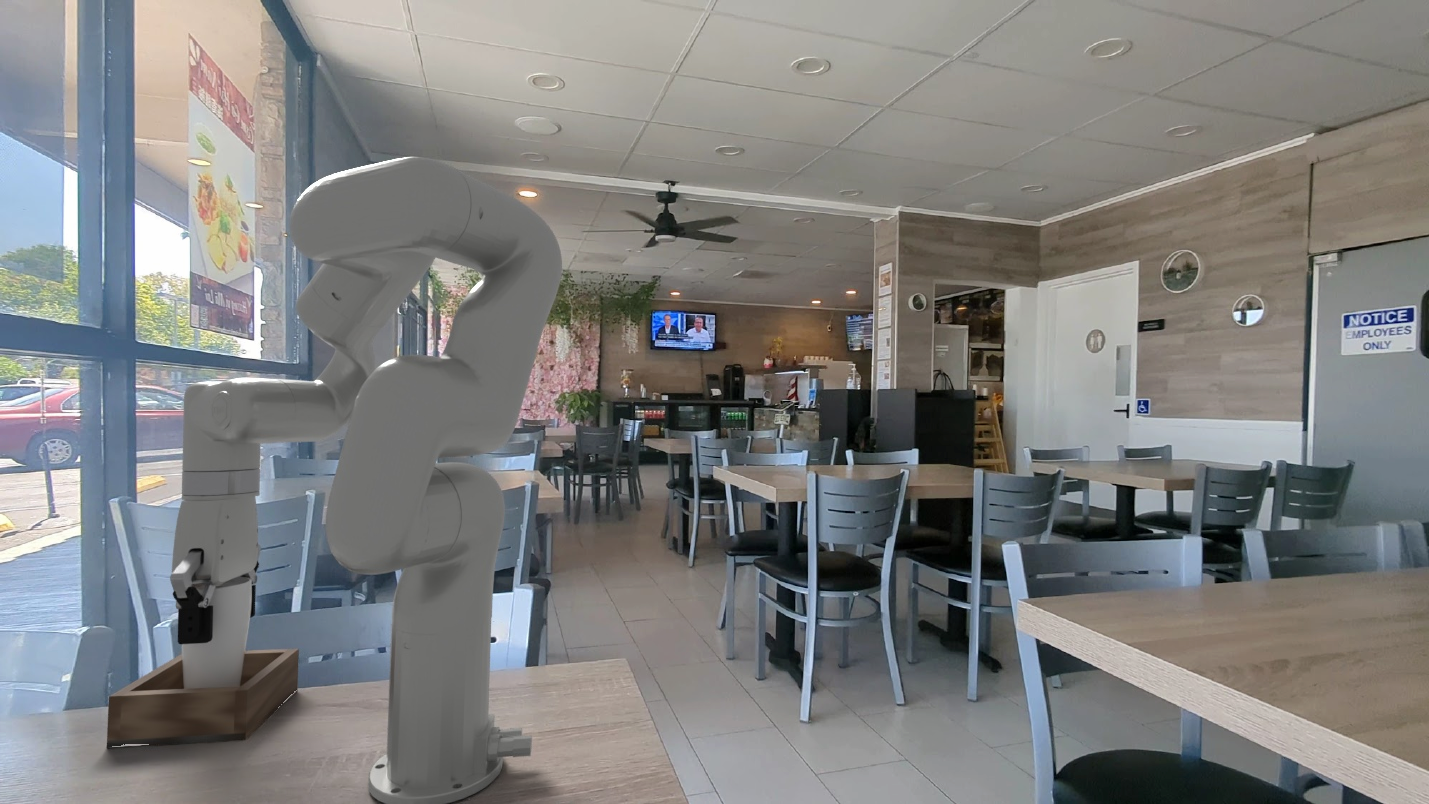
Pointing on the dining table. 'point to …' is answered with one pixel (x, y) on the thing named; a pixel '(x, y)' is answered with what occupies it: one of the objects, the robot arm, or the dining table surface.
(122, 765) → the dining table surface
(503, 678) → the dining table surface
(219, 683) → the drinking glass
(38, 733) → the dining table surface
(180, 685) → the caddy
